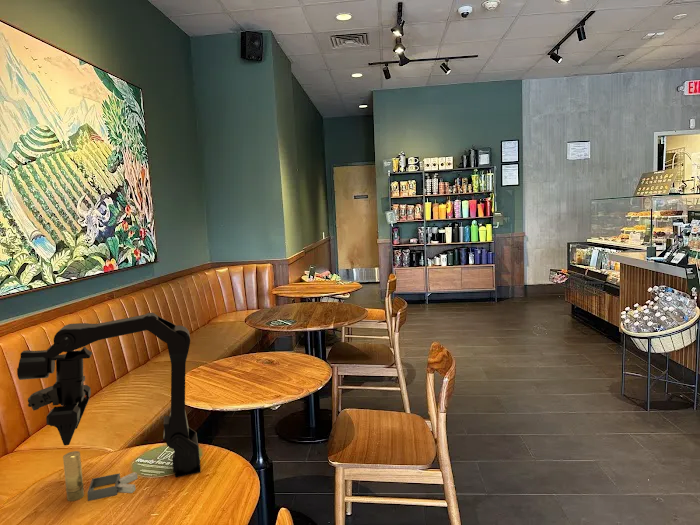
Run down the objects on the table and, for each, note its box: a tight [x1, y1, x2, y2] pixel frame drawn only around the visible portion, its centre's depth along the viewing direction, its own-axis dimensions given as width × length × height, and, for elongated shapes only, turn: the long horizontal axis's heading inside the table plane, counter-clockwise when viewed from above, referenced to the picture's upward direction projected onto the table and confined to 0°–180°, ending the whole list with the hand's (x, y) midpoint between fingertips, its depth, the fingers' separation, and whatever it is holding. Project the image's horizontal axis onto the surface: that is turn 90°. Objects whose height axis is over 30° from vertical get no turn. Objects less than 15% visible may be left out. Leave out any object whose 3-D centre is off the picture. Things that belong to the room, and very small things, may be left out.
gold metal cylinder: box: [62, 450, 85, 502], centre depth 113 cm, size 4×4×11 cm
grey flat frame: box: [87, 471, 138, 502], centre depth 116 cm, size 11×8×2 cm
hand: (70, 436), depth 114 cm, fingers open, 9 cm apart
